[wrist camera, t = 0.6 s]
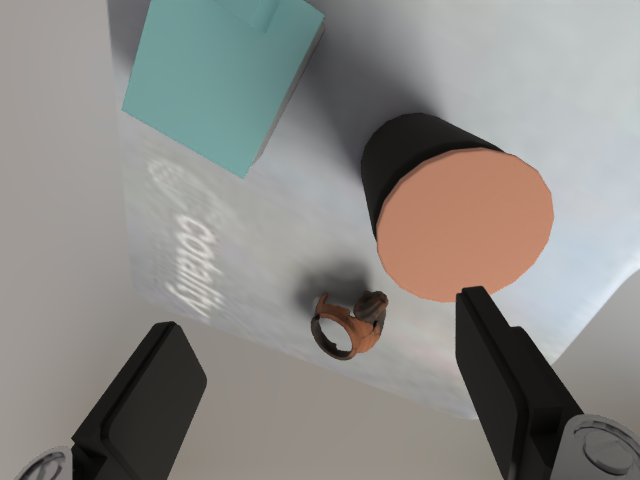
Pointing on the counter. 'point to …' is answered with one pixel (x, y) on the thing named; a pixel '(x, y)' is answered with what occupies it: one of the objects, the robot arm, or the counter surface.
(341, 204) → the counter surface
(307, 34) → the teal platform with post
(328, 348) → the brown looped piece
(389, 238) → the coffee jar
